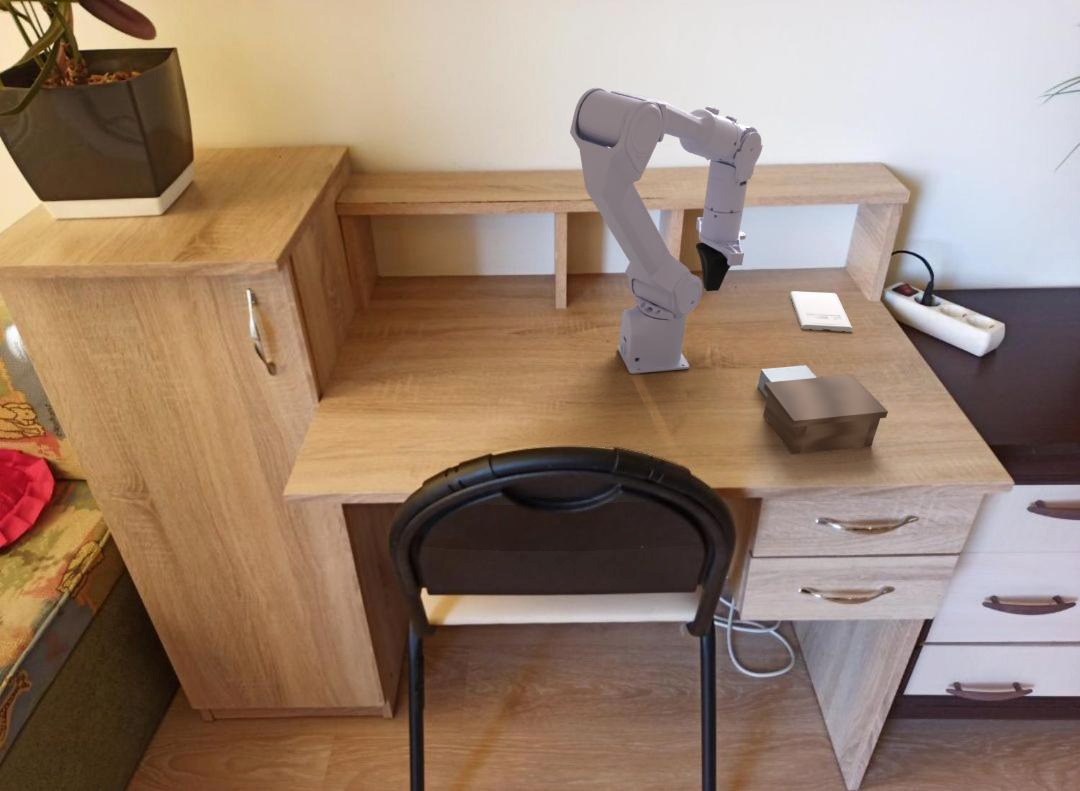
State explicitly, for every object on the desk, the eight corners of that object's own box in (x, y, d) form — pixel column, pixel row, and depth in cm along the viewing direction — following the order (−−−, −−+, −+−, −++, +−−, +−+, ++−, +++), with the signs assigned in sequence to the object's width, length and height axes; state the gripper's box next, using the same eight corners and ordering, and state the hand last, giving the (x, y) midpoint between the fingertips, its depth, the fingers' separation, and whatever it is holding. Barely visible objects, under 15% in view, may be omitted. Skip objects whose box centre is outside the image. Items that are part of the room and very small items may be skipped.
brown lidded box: (785, 454, 99) (794, 420, 96) (757, 415, 106) (764, 382, 103) (877, 445, 101) (888, 411, 98) (843, 406, 108) (852, 374, 105)
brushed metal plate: (800, 443, 101) (805, 425, 100) (757, 386, 113) (761, 369, 111) (848, 438, 102) (854, 420, 101) (801, 382, 114) (805, 365, 112)
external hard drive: (835, 301, 137) (850, 334, 127) (788, 298, 138) (800, 332, 128) (837, 293, 136) (853, 326, 126) (790, 290, 137) (802, 323, 127)
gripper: (769, 222, 108) (753, 308, 115) (730, 188, 119) (718, 268, 127) (722, 225, 107) (709, 311, 114) (688, 191, 118) (678, 271, 126)
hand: (711, 289), depth 121 cm, fingers closed
